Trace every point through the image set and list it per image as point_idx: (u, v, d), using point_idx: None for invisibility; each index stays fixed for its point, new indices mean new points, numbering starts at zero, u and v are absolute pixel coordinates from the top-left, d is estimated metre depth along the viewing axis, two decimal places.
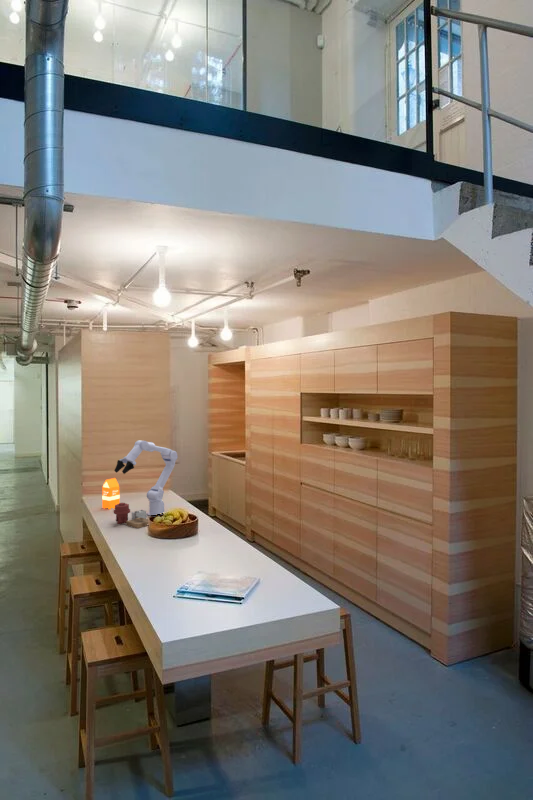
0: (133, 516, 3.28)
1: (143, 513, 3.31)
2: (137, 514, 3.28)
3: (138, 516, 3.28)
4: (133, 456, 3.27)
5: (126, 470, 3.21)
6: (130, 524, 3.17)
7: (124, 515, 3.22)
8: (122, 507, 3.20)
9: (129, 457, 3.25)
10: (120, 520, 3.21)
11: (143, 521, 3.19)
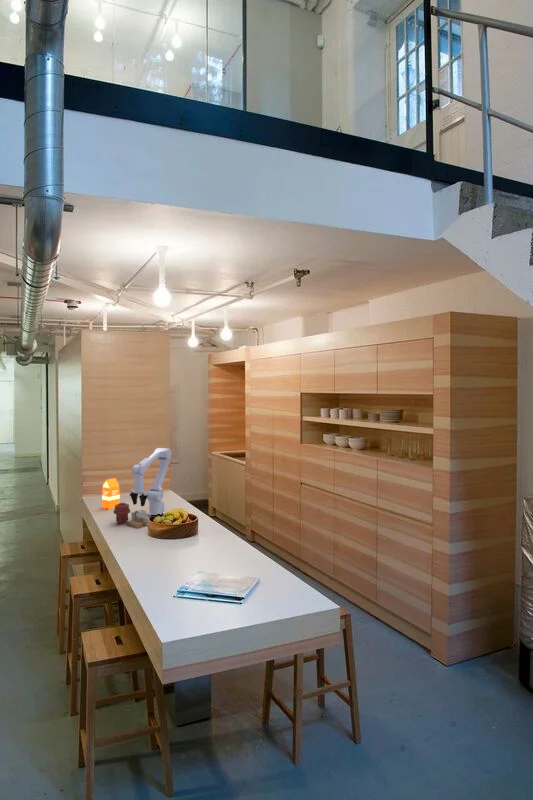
0: (133, 516, 3.28)
1: (143, 513, 3.31)
2: (137, 514, 3.28)
3: (138, 516, 3.28)
4: (140, 486, 3.28)
5: (143, 502, 3.29)
6: (130, 524, 3.17)
7: (124, 515, 3.22)
8: (122, 507, 3.20)
9: (137, 489, 3.28)
10: (120, 520, 3.21)
11: (143, 521, 3.19)
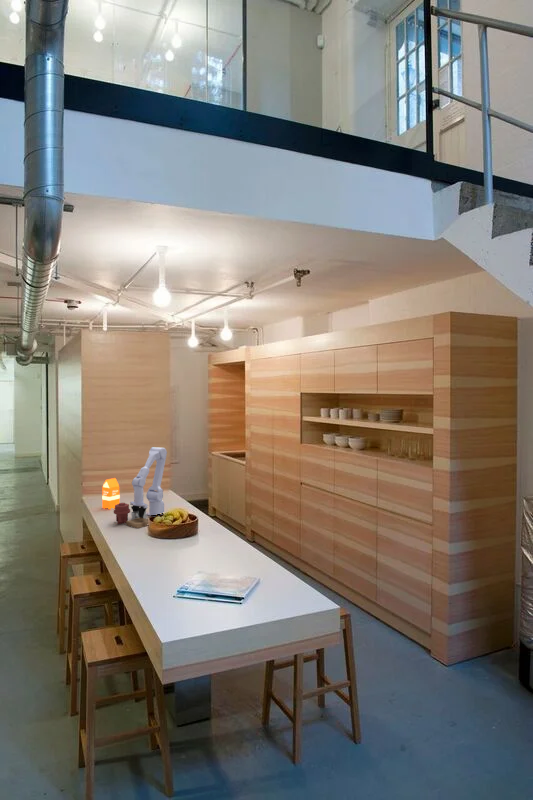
0: (133, 516, 3.28)
1: None
2: (137, 514, 3.28)
3: (138, 516, 3.28)
4: (140, 499, 3.29)
5: (142, 514, 3.30)
6: (130, 524, 3.17)
7: (124, 515, 3.22)
8: (122, 507, 3.20)
9: (137, 502, 3.28)
10: (120, 520, 3.21)
11: (143, 521, 3.19)
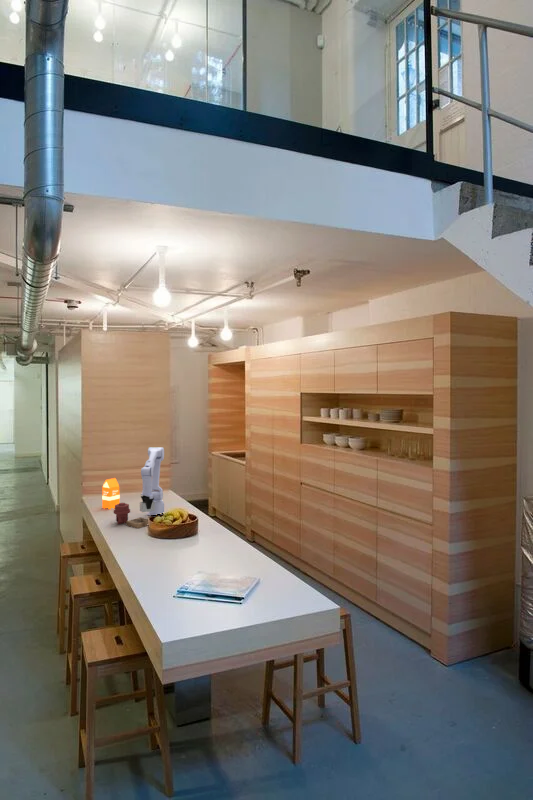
0: (140, 506, 3.24)
1: None
2: (143, 504, 3.22)
3: (145, 506, 3.23)
4: (147, 489, 3.23)
5: (149, 505, 3.23)
6: (130, 524, 3.17)
7: (124, 515, 3.22)
8: (122, 507, 3.20)
9: (144, 492, 3.23)
10: (120, 520, 3.21)
11: (143, 521, 3.19)
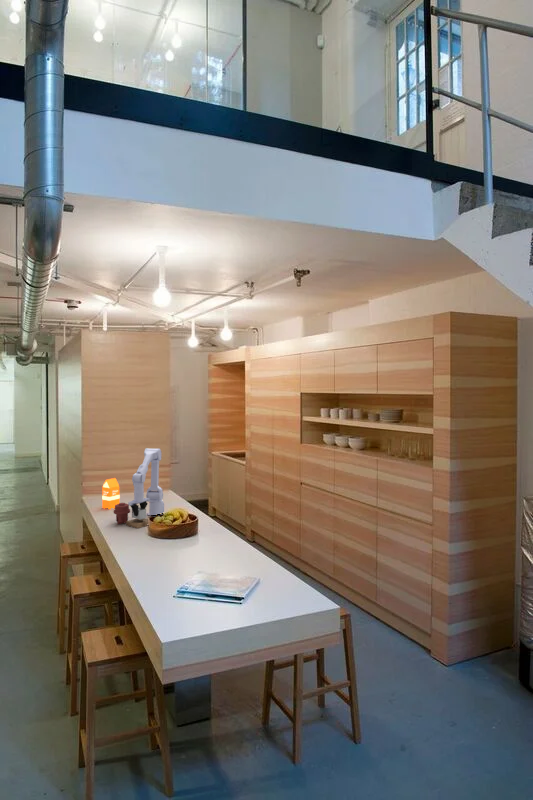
0: None
1: None
2: None
3: (133, 512, 3.20)
4: (134, 495, 3.18)
5: (135, 512, 3.18)
6: (130, 524, 3.17)
7: (124, 515, 3.22)
8: (122, 507, 3.20)
9: None
10: (120, 520, 3.21)
11: (143, 521, 3.19)
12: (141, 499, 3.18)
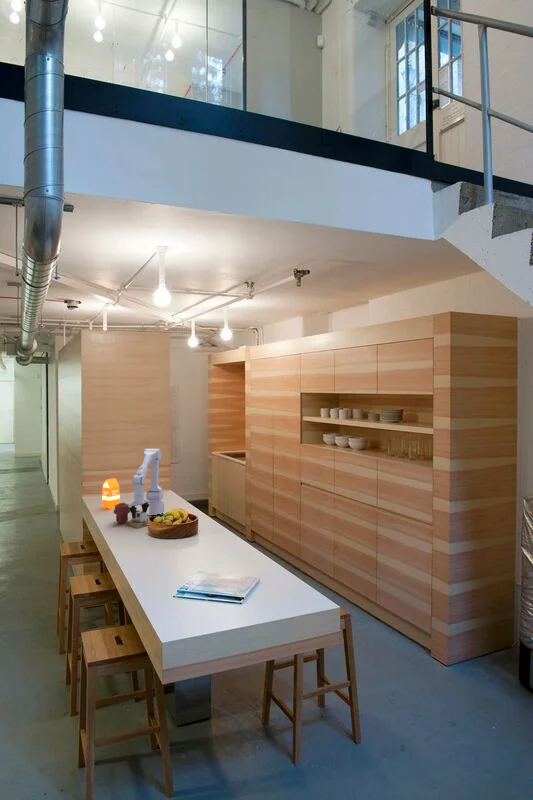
0: None
1: (137, 515, 3.18)
2: None
3: None
4: (134, 497, 3.18)
5: (133, 514, 3.17)
6: (130, 524, 3.17)
7: (124, 515, 3.22)
8: (122, 507, 3.20)
9: None
10: (120, 520, 3.21)
11: None
12: (141, 501, 3.18)
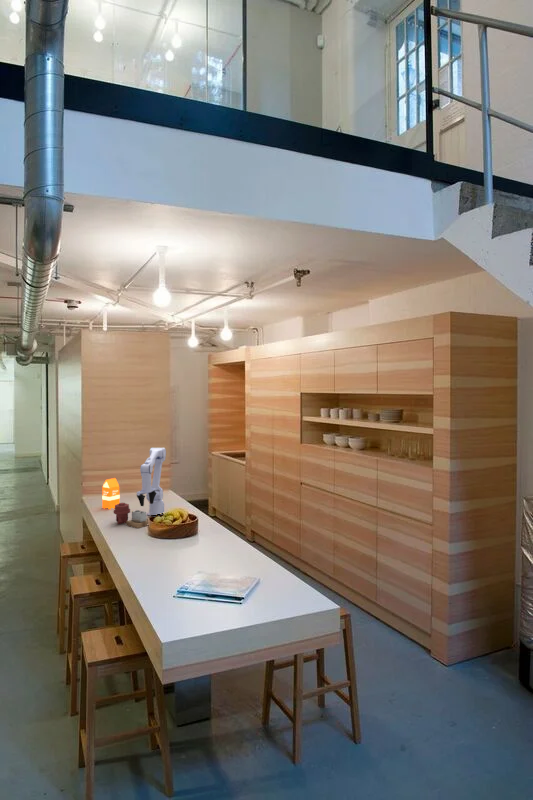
0: None
1: (137, 515, 3.18)
2: (133, 513, 3.20)
3: (133, 515, 3.20)
4: (142, 485, 3.26)
5: (141, 502, 3.24)
6: (130, 524, 3.17)
7: (124, 515, 3.22)
8: (122, 507, 3.20)
9: (142, 488, 3.27)
10: (120, 520, 3.21)
11: None
12: (149, 489, 3.26)
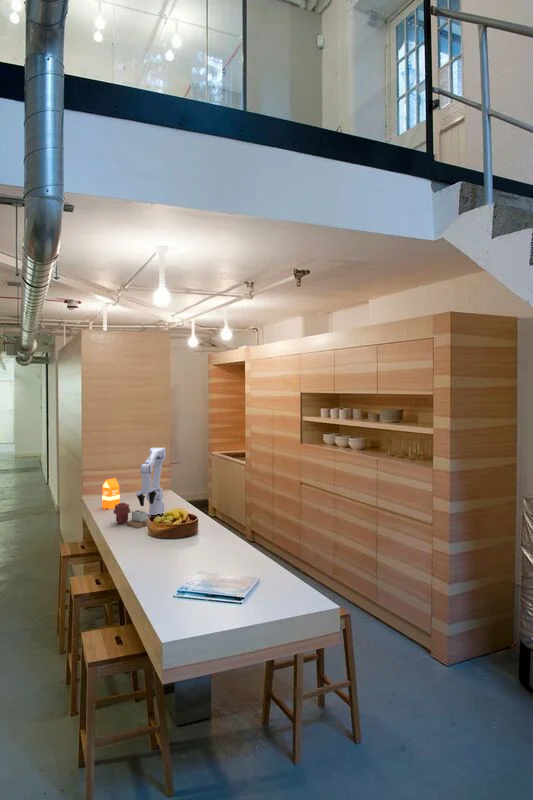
0: None
1: (137, 515, 3.18)
2: (133, 513, 3.20)
3: (133, 515, 3.20)
4: (142, 485, 3.26)
5: (141, 502, 3.24)
6: (130, 524, 3.17)
7: (124, 515, 3.22)
8: (122, 507, 3.20)
9: (142, 488, 3.27)
10: (120, 520, 3.21)
11: None
12: (149, 489, 3.26)
